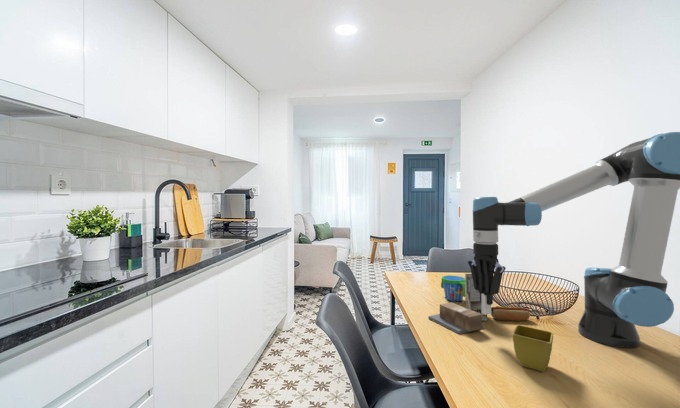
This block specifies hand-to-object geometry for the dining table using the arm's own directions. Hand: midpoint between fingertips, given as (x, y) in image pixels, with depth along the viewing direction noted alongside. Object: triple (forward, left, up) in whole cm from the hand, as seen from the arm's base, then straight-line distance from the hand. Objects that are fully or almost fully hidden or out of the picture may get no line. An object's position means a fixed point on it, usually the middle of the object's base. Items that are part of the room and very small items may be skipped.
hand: (486, 313), depth 98 cm
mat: (+13, 0, -8) cm, 16 cm away
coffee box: (+15, -13, -8) cm, 21 cm away
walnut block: (+4, 0, -5) cm, 6 cm away
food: (+7, -22, -9) cm, 25 cm away
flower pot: (-17, +3, -8) cm, 19 cm away
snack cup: (+34, -21, -8) cm, 41 cm away
